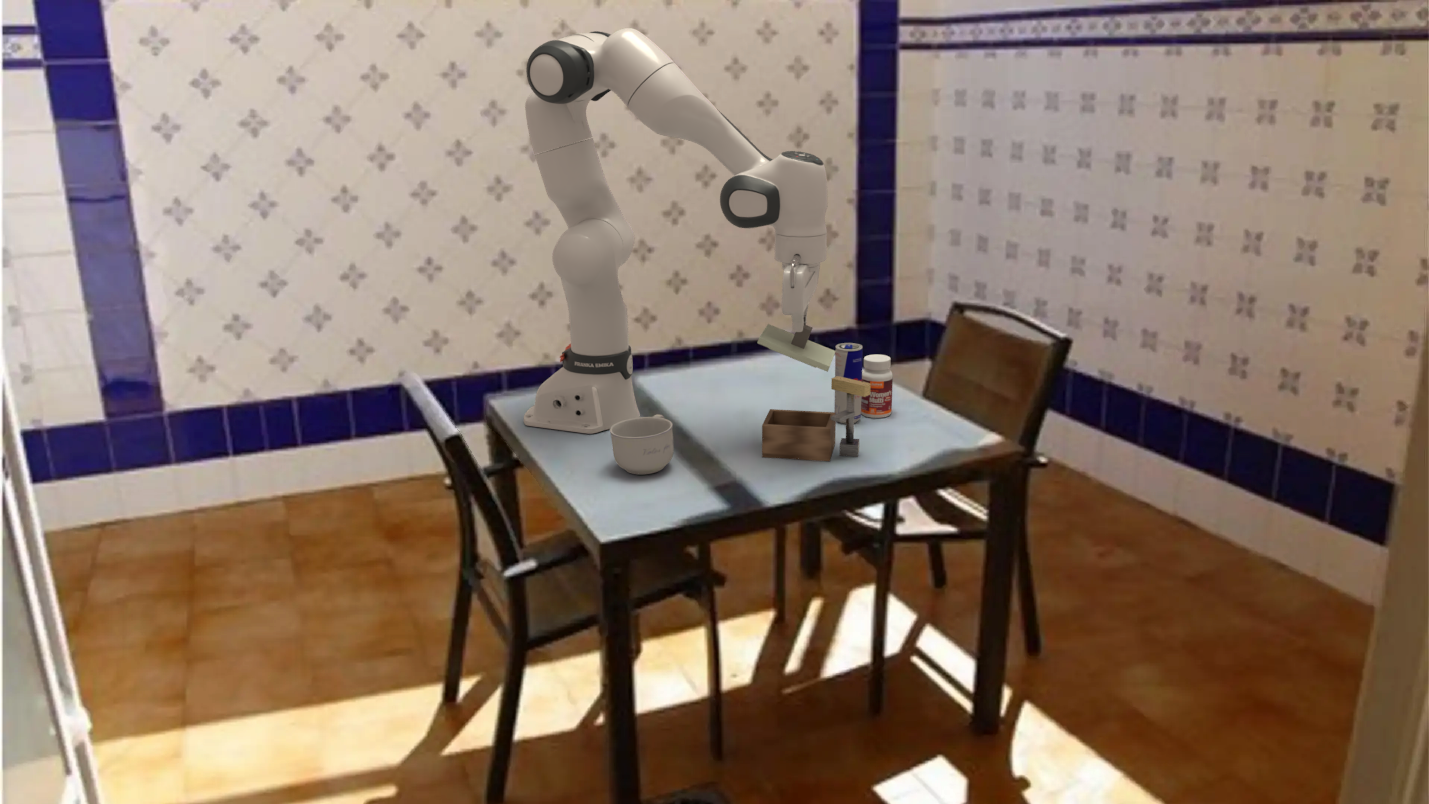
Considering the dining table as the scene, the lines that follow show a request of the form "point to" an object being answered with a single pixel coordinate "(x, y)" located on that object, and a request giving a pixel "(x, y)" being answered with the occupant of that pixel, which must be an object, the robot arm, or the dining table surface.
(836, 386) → the key
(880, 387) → the pill bottle
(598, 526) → the dining table surface
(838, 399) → the beverage can
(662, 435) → the teacup
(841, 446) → the key socket
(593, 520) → the dining table surface
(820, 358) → the lid
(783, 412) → the box
